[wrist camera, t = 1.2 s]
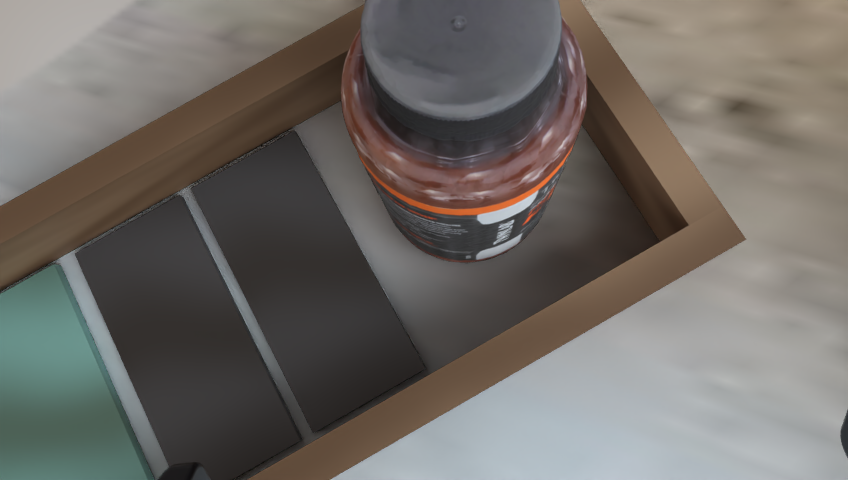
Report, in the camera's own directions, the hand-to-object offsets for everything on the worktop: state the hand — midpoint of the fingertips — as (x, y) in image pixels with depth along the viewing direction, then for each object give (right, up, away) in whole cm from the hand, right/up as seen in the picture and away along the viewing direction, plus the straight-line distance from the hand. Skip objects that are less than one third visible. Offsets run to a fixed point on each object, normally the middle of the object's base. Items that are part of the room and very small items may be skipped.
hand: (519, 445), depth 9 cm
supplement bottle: (0, +5, +15) cm, 16 cm away
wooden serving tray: (-8, 0, +14) cm, 16 cm away
